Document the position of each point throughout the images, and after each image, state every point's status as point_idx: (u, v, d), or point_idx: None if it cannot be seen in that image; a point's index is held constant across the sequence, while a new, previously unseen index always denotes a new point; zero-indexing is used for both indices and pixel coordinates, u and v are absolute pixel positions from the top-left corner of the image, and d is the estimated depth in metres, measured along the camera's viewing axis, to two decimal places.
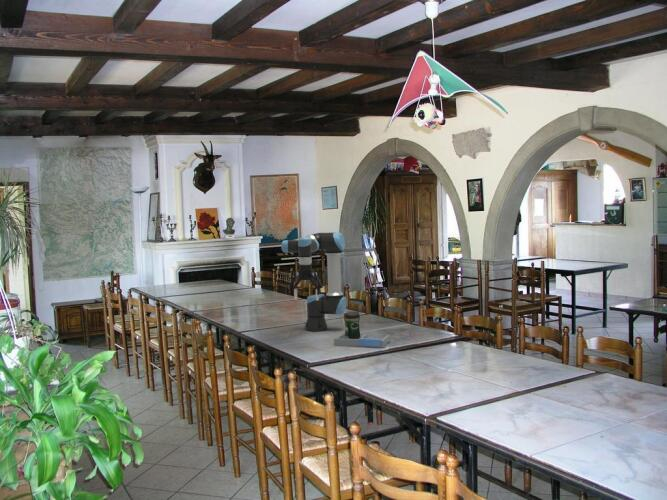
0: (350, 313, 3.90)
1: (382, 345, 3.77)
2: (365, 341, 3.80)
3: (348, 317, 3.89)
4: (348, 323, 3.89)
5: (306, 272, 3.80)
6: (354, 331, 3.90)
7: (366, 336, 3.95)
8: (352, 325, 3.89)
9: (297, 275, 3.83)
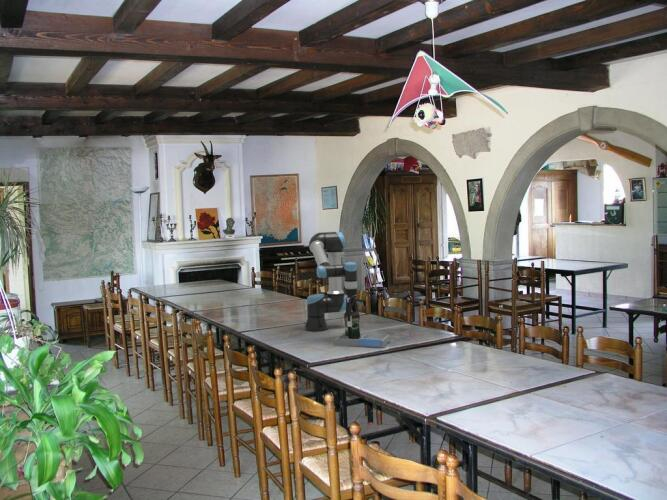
0: None
1: (382, 345, 3.77)
2: (365, 341, 3.80)
3: None
4: None
5: None
6: (354, 331, 3.90)
7: (366, 336, 3.95)
8: (352, 325, 3.89)
9: None
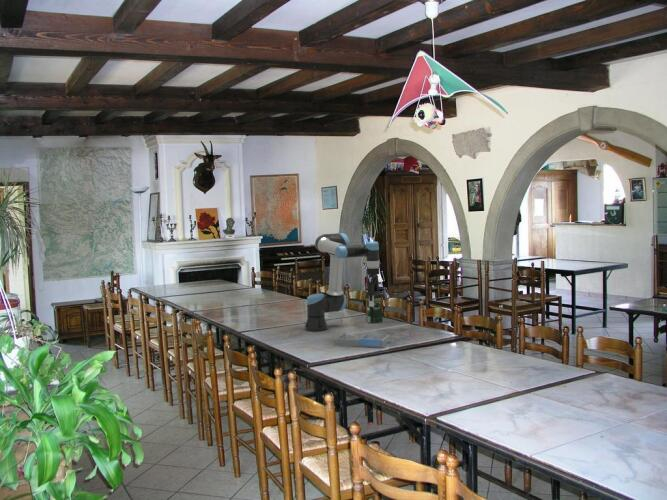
0: None
1: (382, 345, 3.77)
2: (365, 341, 3.80)
3: None
4: None
5: None
6: (376, 311, 3.84)
7: (366, 336, 3.95)
8: (374, 305, 3.83)
9: None
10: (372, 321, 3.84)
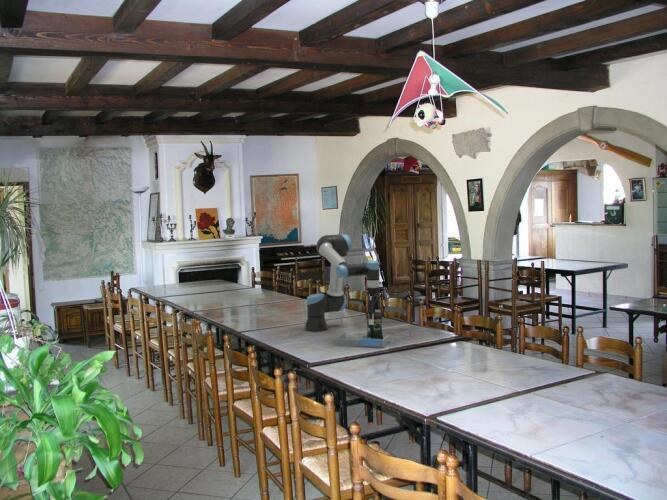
0: None
1: (382, 345, 3.77)
2: (365, 341, 3.80)
3: None
4: None
5: None
6: (376, 332, 3.85)
7: (366, 336, 3.95)
8: (375, 326, 3.85)
9: None
10: None
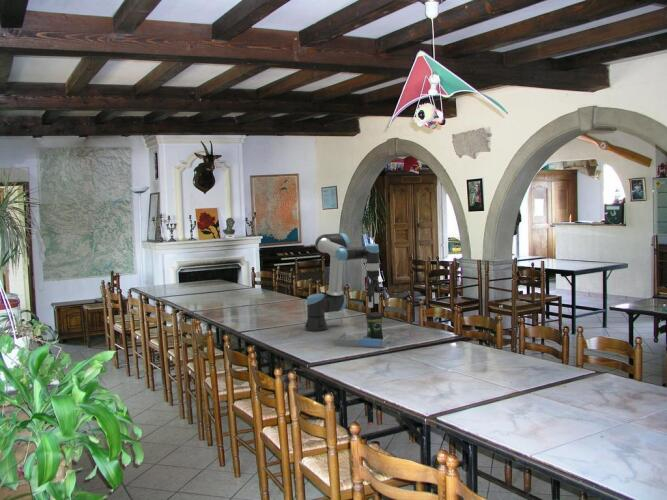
0: (372, 314, 3.86)
1: (382, 345, 3.77)
2: (365, 341, 3.80)
3: (371, 318, 3.84)
4: (370, 324, 3.85)
5: None
6: (376, 332, 3.85)
7: (366, 336, 3.95)
8: (375, 326, 3.85)
9: None
10: None
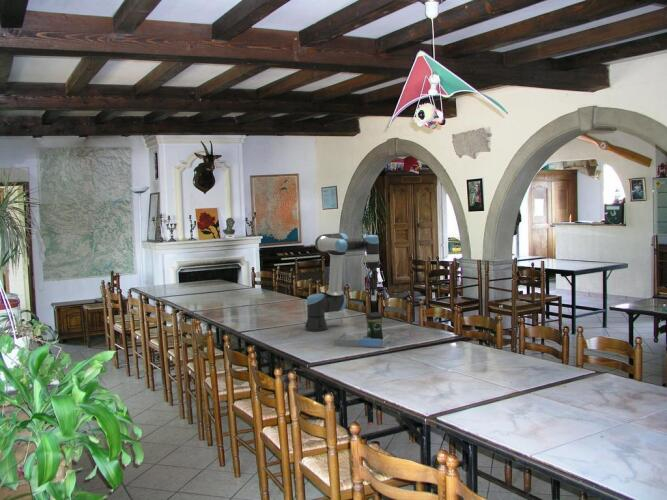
0: (372, 314, 3.86)
1: (382, 345, 3.77)
2: (365, 341, 3.80)
3: (371, 318, 3.84)
4: (370, 324, 3.85)
5: None
6: (376, 332, 3.85)
7: (366, 336, 3.95)
8: (375, 326, 3.85)
9: None
10: None
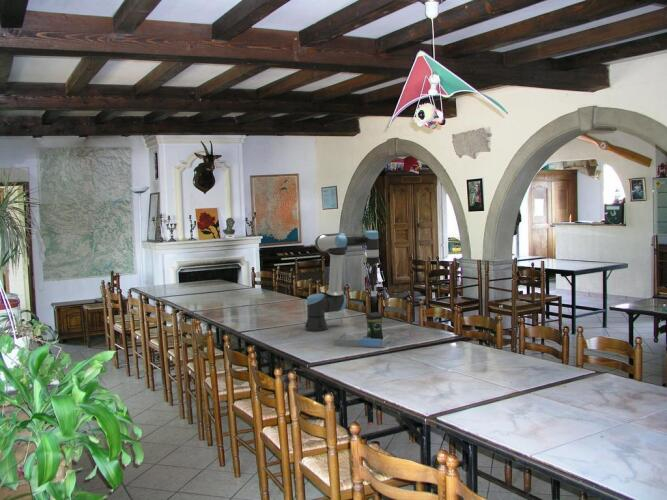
0: (372, 314, 3.86)
1: (382, 345, 3.77)
2: (365, 341, 3.80)
3: (371, 318, 3.84)
4: (370, 324, 3.85)
5: None
6: (376, 332, 3.85)
7: (366, 336, 3.95)
8: (375, 326, 3.85)
9: None
10: None
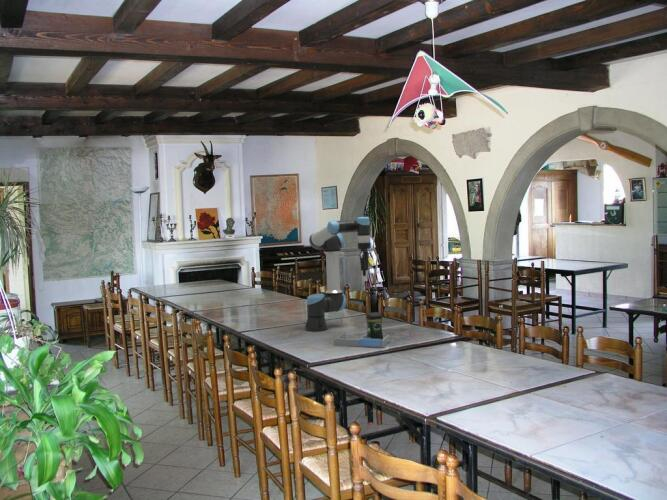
0: (372, 314, 3.86)
1: (382, 345, 3.77)
2: (365, 341, 3.80)
3: (371, 318, 3.84)
4: (370, 324, 3.85)
5: None
6: (376, 332, 3.85)
7: (366, 336, 3.95)
8: (375, 326, 3.85)
9: None
10: None
